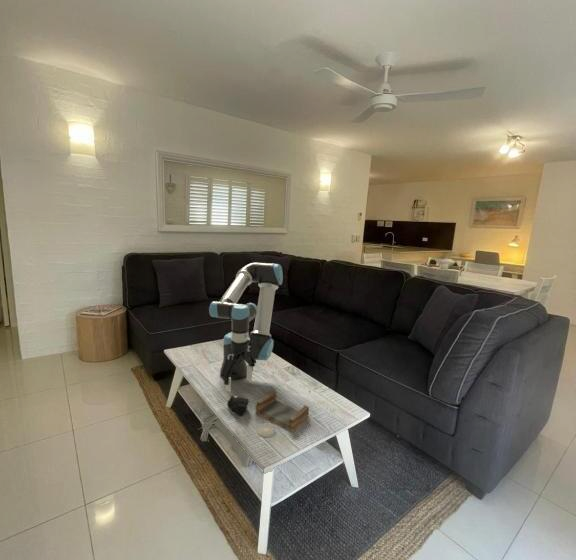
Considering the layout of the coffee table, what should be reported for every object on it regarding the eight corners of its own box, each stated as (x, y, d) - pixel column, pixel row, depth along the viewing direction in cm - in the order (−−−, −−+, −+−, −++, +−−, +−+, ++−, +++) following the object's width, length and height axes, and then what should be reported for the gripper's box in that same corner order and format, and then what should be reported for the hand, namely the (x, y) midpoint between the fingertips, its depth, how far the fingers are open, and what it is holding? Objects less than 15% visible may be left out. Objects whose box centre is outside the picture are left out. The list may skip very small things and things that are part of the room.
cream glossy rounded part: (252, 432, 125) (252, 430, 125) (264, 422, 132) (265, 420, 131) (267, 440, 121) (267, 439, 120) (279, 430, 127) (280, 428, 127)
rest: (255, 412, 137) (256, 402, 136) (272, 400, 147) (273, 390, 146) (292, 432, 126) (293, 420, 125) (308, 417, 135) (308, 407, 134)
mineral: (223, 415, 134) (223, 403, 133) (228, 403, 143) (228, 392, 142) (246, 417, 134) (246, 405, 133) (250, 405, 143) (250, 394, 142)
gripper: (224, 351, 123) (224, 399, 127) (264, 334, 143) (263, 377, 147) (212, 346, 127) (211, 393, 131) (252, 331, 147) (251, 372, 151)
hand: (239, 384), depth 139 cm, fingers open, 13 cm apart
